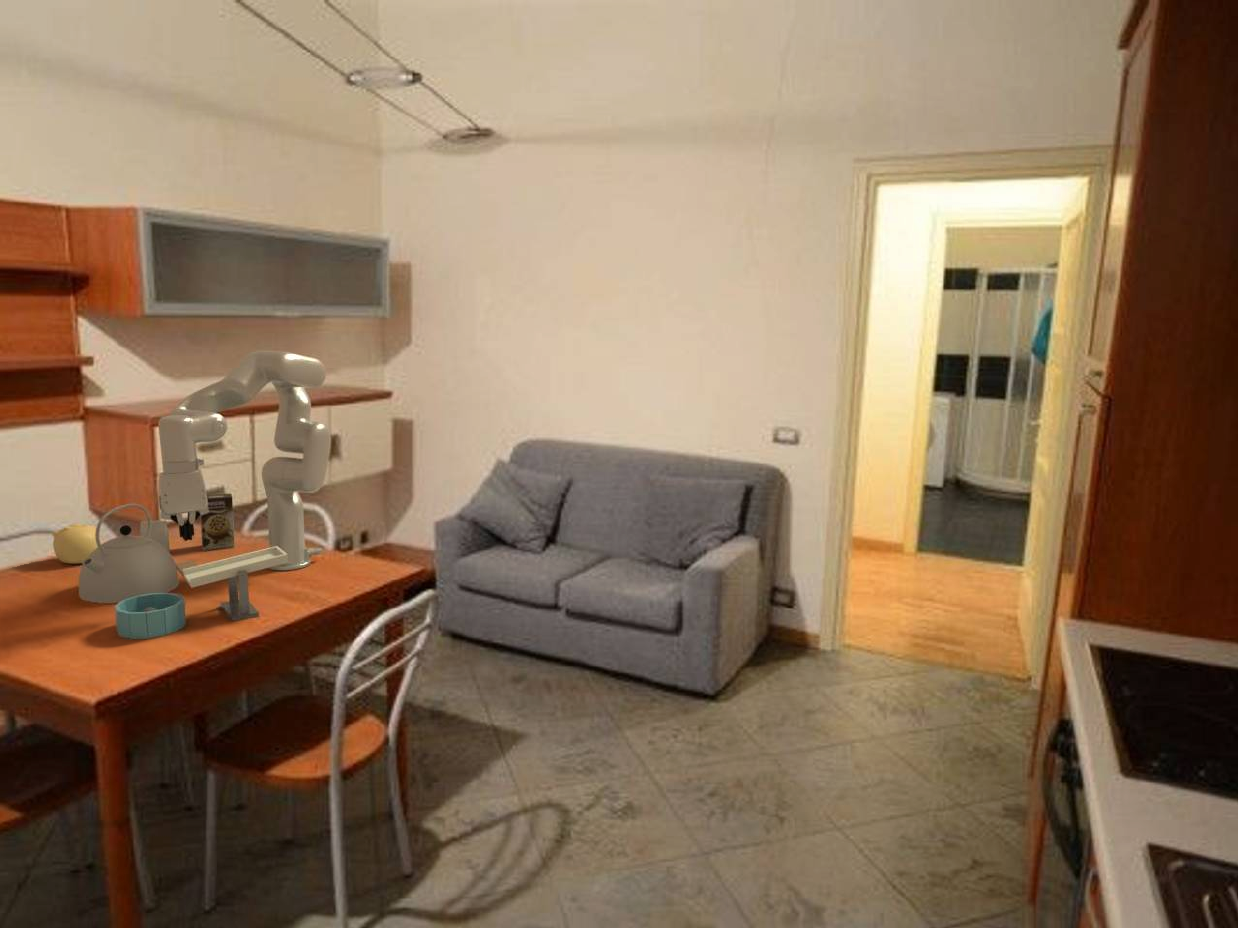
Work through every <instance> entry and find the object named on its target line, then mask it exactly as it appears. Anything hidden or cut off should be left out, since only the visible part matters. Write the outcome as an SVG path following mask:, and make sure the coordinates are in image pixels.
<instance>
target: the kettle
mask: <svg viewBox="0 0 1238 928" xmlns="http://www.w3.org/2000/svg"><path fill="white" fill-rule="evenodd" d="M130 507H131V508H132V507H134V508H138V509H140V510H142V511H143V513H145V514H144V515H145V516H146V519H147V521H148V530H147V533H146V536H145V537H142V536H140V535H130V534H131V533H132V527H131V526H129V525H127V524H126V525H125V524H123V525H122V526H121V527H120V528H119V533H120V534H121V535H122V536H118V537H115V538H111V539H108V540H106V541H105V542H101V543H102V545H101V543H100V539H101V538H100V539H99V536H100V530H101V527H102V524H103V523H104V521H105V520H106V519H107V518H108V517H109V516H110V515H112V514H113V513H115V512H117V511H120V510H122V509H126V508H130ZM151 521H152V518H151V514H150V513H149V511H148V510H147V508H145V506H143V505H141V504H140V503H139V504H138V503H127V504H123V505H119V506H117V507H114V508H112V509H111V510H109V511H107V512H106V513H105V514H104V515H103V516H101V518H100V520H98V523H97V525H96V526H95V527H96V533H95V538H96V543H97V546H98V547H97V548H96V549H95V550H94V551H93V552H92V553H91V554H90V555H89V556H88V557H87V559H86V560H84V561H83V563H81V564H82V566H81V567H80V572H79V577H78V597H79V598H80V599H81V598H82V599H81V600H83V601H85V600H86V601H85V602H89V601H91V602H90V603H94V602H98V603H97V604H117V603H116V602H121V601H122V600H125V599H129V598H132V597H135V596H139V595H145V594H151V593H171V590H172V591H173V590H175V589H177V587H179V585H180V581H179V573H178V572H179V571H178V569H177V568H176V565H175V564H176V561H175V559H174V558H173V556H172V554H171V553H170V551H169V552H168V551H167V550H166V549H165V548H164V547H163V546H162V545H160V544H159V543H157V542H155V541H153V540H151V539H149V535H150V532H151V526H152V524H151Z"/></svg>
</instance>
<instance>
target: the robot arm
mask: <svg viewBox="0 0 1238 928" xmlns="http://www.w3.org/2000/svg"><path fill="white" fill-rule="evenodd" d="M326 370H327V369H326V366H325V365H324V364H323V362H322V361H321V360H319V359H318V358H315V357H311V356H306V355H303V354H298V353H294V352H290V351H283V350H266V349H263V350H262V349H261V350H259V349H258V350H255V351H252V352H250V353H249V354H248V355H246V357H245V358H243V359H242V360H241V361H240V362H239V363H238V364H237V365H236V366H235V367H234V368H233V369H232V370H231V371H230V372H229V373H228V374H227V375H225V376H224V378H222V379H221V380H219V381H216V382H213V383H212V384H209V385H207V386H205V387H203V388H201V389H199V390H196V391H194V392H193V393H191V394H189V395H188V396H186V397H185V398H184V399H183V400H182V401H181V402H179V403H178V404H177V406H175V407H174V408H173V409H172V411H171V412H170V414H169V415H166V416H162V417H161V418H159V419H158V424H157V425H158V435H159V442H160V443H159V445H160V453H161V463H162V472H159V475H158V506H159V510H160V514H159V517H160V518H159V519H161V520H164V521H165V520H166V521H169V520H170V521H173V522H174V523H176V524H178V531H179V532H178V533H179V537H180V538H182V539H183V540H184V541H185V542H187V541H192V540H193V536H195V527H194V525H195V522H196V521H197V520H198V519H199V518H200V517H201V515H204V514H207V513H209V509H208V500H207V495H208V494H207V488H206V484H205V483H206V482H205V479H204V475H203V473H202V469H200V466H205V460H204V459H199V458H198V456H197V444H198V443H208V442H209V443H211V442H216V441H219V440H220V439H222V438H223V437H224V436H225V435H226V433H227V431H228V422H227V420H226V418H225V417H224V416H223V415H222V414H220V413H219V412H222V411H227V410H231V409H232V410H233V409H235V408H240V407H243V406H245V405H247V404H249V403H250V402H251V401H252V400H253V399H254V398H255V397H256V396H257V395H258V394H259V393H260V391H262V390H263V389H264V387H265V386H267V385H268V384H269V383H271V384H272V385H273V387H274V389H275V391H276V394H277V395H278V399H279V407H278V413H277V419H276V425H275V431H274V436H273V437H274V438H273V443H274V446H275V448H276V449H277V450H278V451H280V452H283V453H289V454H299V455H303V457H302V458H300V457H298V458H297V457H290V456H289V457H288V456H275V457H271V458H270V459H267V461H266V462H264V464H263V465H262V469H261V479H262V484H263V487H264V489H265V495H266V506H267V523H268V524H267V526H268V544H269V545H268V548H270V547H274V546H278V547H279V548H280V549H282V550H283V551H284V552H285V553H287V554H288V562H287V563H284V564H280V565H276V566H272V567H268V568H267V570H273V571H291V570H292V571H293V570H299V569H302V568H305V567H307V566H309V565H311V563H312V558H311V557H312V556H318V555H322V554H323V549H322V547H318V548H315V547H309V548H308V547H306V543H305V522H304V521H305V520H304V503H303V499H302V497H301V495H300V493H302V494H303V493H305V494H313V493H316V492H318V491H319V490H320V489H321V488H322V487H323V485H324V483H325V479H326V476H327V475H326V473H327V470H328V469H327V468H328V462H329V458H330V456H329V455H330V451H331V445H332V444H331V443H332V437H331V433H330V429H329V428H328V427H327V426H326V425H325V424H324V423H322V422H318V421H313V420H312V421H310V418H311V409H312V402H311V399H310V396H309V394H308V392H307V390H306V389H317V388H319V387H320V386H322V385H323V384H324V382H325V380H326V377H327V371H326ZM185 513H187V516H186V522H185V520H184V516H183V514H185Z"/></svg>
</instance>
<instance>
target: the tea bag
mask: <svg viewBox="0 0 1238 928" xmlns="http://www.w3.org/2000/svg"><path fill="white" fill-rule="evenodd" d="M139 523H140V525H139V526H140V527H139V528H140V531H139V536H142V537H145V536H146V533H147V530H148V520H142V521H139ZM151 524H152V526H151V532H150V535H149V539H151V540H153V541H155V542H157V543H159V544H160V545H162V546H163V547H164V548H165V549H166V550H167V551H168V552H169V553H170V552H171V550H170V536H169V529H168V524H167V520H165V519H164V520H151Z"/></svg>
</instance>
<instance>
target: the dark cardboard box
mask: <svg viewBox="0 0 1238 928" xmlns="http://www.w3.org/2000/svg"><path fill="white" fill-rule="evenodd" d="M207 500H208V509H209V513H207V514H204V515H201V516H200V527H201V529H200V530H201V531H200V532H201V546H202V547H201V548H202V551H210V550H219V549H220V550H221V548H222V549H231V548H235V546H236V545H235V528H234V527H235V526H234V525H235V524H234V507H233V503H234V502H233V494H232V493H218V494H207Z"/></svg>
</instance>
